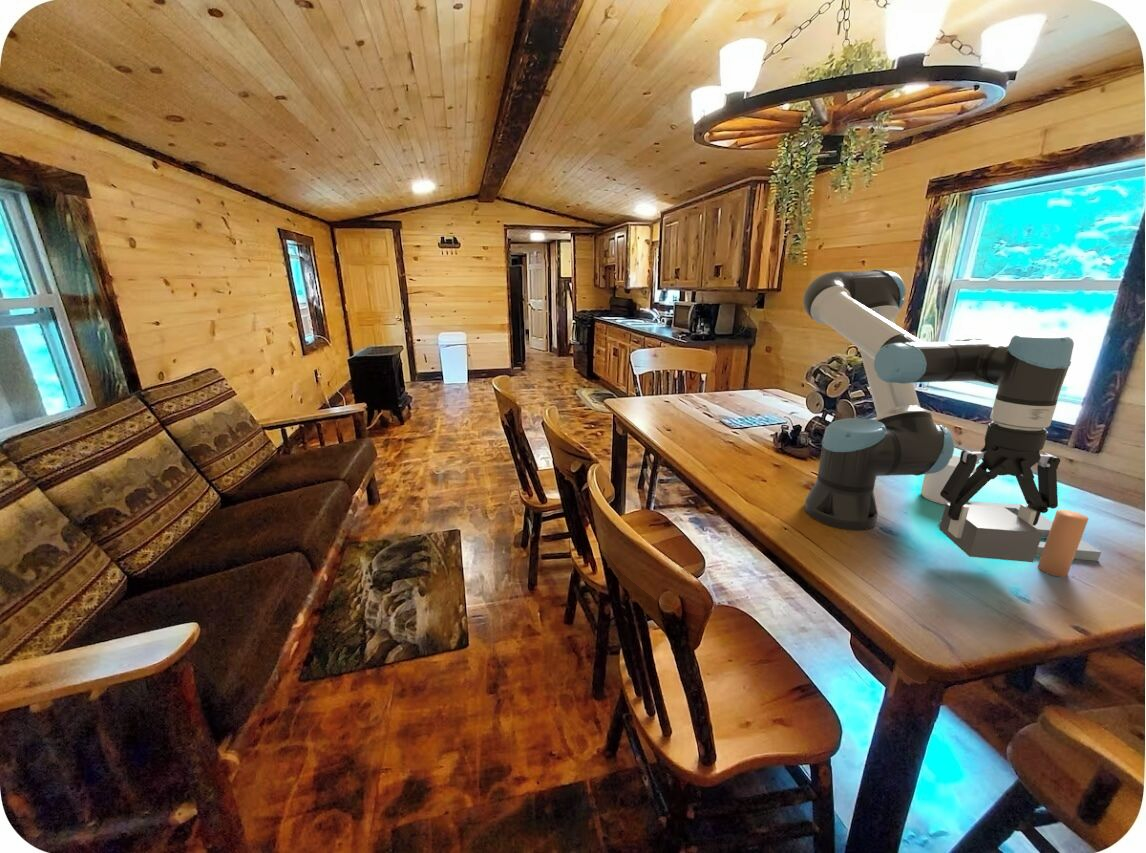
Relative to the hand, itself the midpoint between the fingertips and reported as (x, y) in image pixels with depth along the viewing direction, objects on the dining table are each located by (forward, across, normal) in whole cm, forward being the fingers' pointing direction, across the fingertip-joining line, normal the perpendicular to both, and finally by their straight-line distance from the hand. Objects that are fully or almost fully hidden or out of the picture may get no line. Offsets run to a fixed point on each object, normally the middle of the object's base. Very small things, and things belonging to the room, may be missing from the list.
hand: (986, 536), depth 84 cm
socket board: (+7, +19, +17) cm, 27 cm away
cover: (+2, 0, 0) cm, 2 cm away
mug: (+7, +12, +32) cm, 35 cm away
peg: (+7, +14, +2) cm, 16 cm away
